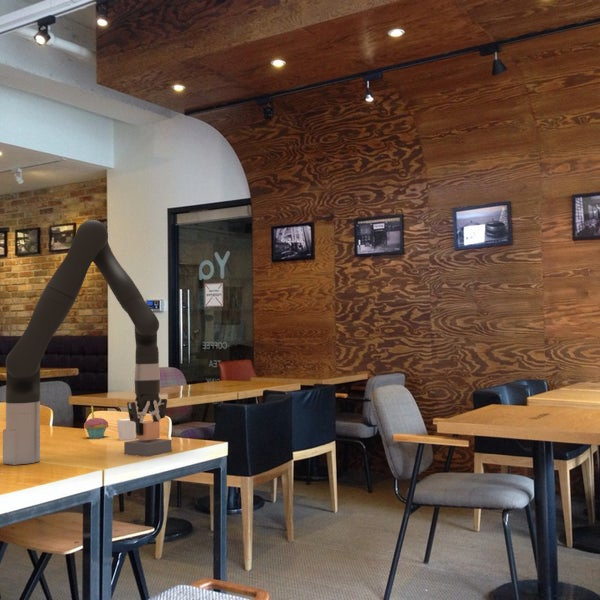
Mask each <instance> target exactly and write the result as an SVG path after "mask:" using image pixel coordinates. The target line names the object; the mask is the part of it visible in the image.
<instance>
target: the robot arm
mask: <svg viewBox="0 0 600 600" xmlns="http://www.w3.org/2000/svg"><path fill="white" fill-rule="evenodd" d="M108 238H109V233H108V229H107V227H106V226H105V225H104V224H103V222H101V221H100V220H97V219H96V220H95V219H89V220H86V221H84V222H82V223H81V224H80V225H79V226H78V228H77V229H76V233H75V235H74V238H73V240H72V243H71V245H70V247H69V250H68V251H67V254H66V255H65V257H64V259H63V261H62V262H61V263H60V264H59V266H58V267H57V269H56V270H55V272H54V273H53V275H52V276H51V278H50V279H49V281H48V283H47V284H46V286H45V288H44V289H43V291H42V293H41V294H40V297H39V299H38V301H37V303H36V305H35V307H34V310H33V312H32V314H31V317H30V319H29V322H28V325H27V326H26V328H25V330H24V332H23V333H22V335H21V337H20V338H19V340H18V341H17V342H16V344H15V345H14V346H13V348H12V349H11V350H10V351H9V353H8V355H7V356H6V358H5V368H6V370H5V372H6V374H5V375H6V376H5V377H6V380H5V381H6V383H5V386H6V388H5V429H3V430H2V464H5V465H10V466H16V465H28V464H33V463H34V464H35V463H37V462H40V461H41V362H42V359H43V357H44V355H45V352H46V349H47V348H48V345H49V343H50V341H51V339H52V337H54V334H55V333H56V332H57V330H59V327H60V326H61V325H62V323H63V322H64V321H65V320H66V318H67V316H68V314H69V313H70V311H71V309H72V308H73V306H74V304H75V301H76V300H77V298H78V296H79V294H80V291H81V289H82V287H83V284H84V282H85V278H86V277H87V274H88V271H89V269H90V267H91V266H92V263H93V264H94V265H95V267H96V268H97V269H98V271H99V272H100V273H101V275H102V276H103V279H104V280H105V282H106V283H107V285H108V287H109V289H110V290H111V293H112V294H113V295H114V297H115V298H116V300H117V302H118V303H119V305H120V307H122V309H123V310H124V312H126V314H127V315H128V316H129V318H130V320H131V322H132V323H133V326H134V338H135V358H134V359H135V367H134V393H135V400H134V401H128V402H127V403H126V405H127V406H126V407H127V411H128V418H130V421H133V422H135V423H136V434H137V435H139V436H142V435H143V423H142V422H143V421H144V419H145V417H146V415H147V413H149V414H150V415H151V416H150V417H151V418H152V421H158V422H159V423H160V421H161V419H165V417H166V411H167V405H168V399H167V398H160V396H159V394H160V393H161V382H160V380H161V375H160V374H161V373H160V371H161V370H160V361H159V360H160V359H159V356H160V355H159V353H160V352H159V347H158V331H159V329H160V321H159V319H158V317H157V316H156V314H155V313H154V311H153V309H152V308H151V307H150V306H149V305H148V303H147V302H146V301H145V298H144V297H143V295H142V294H141V291H140V290H139V288H138V287H137V285H136V284H135V282H134V281H133V279H132V278H131V276H129V273H127V271H126V270H125V269H124V268H123V267H122V265H121V264H120V263H119V261H118V259H117V258H116V256H115V255H114V253H113V250H112V249H111V246H110V244H109V241H108Z"/></svg>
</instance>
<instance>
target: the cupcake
mask: <svg viewBox="0 0 600 600" xmlns="http://www.w3.org/2000/svg"><path fill="white" fill-rule="evenodd" d="M90 409H91V416H92V418H89V419H87V420H86V421H85V422H84V423H83V428H84V430H85V429H86V432H87V435H88V438H89V439H92V440H93V439H103V438H104V435H105V433H106V429H107V428H109V422H108V420H106V419H104V418H101V417H95V412H94V406H93V405H92V404H91V407H90Z"/></svg>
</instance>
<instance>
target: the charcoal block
mask: <svg viewBox="0 0 600 600" xmlns="http://www.w3.org/2000/svg"><path fill="white" fill-rule="evenodd" d="M172 441H173V440H172V439H167V438H165V439H164V438H157V439H151V440H140V439H134V440H127V441H123V443H124V446H123V447H124V452H123V453H124V455H126V454H128V455H127V456H136V455H138V456H137V457H146V458H147V457H153V456H157V455H158V456H159V455H163V454H168V453H172V452H173V451H172V450H173V445H172V444H173V443H172Z"/></svg>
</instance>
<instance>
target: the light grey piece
mask: <svg viewBox="0 0 600 600" xmlns="http://www.w3.org/2000/svg"><path fill="white" fill-rule="evenodd" d="M116 424H117V431H118V440H119V441H134V440H136V439H135V438H136V423H135V422H133V421H130V418H129V417H126V418H120V419H117V420H116Z"/></svg>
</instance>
